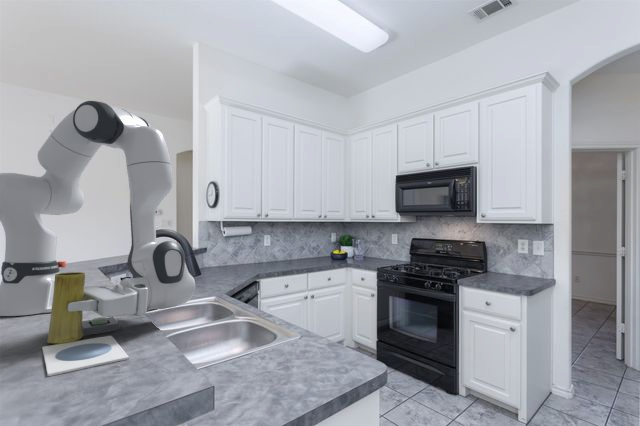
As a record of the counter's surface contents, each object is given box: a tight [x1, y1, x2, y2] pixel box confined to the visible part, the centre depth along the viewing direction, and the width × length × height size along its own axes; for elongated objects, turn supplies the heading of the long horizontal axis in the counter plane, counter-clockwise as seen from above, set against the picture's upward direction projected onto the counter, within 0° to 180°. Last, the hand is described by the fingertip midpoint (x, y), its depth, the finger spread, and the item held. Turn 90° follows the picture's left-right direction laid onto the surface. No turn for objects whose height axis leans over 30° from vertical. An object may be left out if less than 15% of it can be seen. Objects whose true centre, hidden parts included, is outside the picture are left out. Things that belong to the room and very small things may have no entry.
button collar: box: [82, 317, 120, 336], centre depth 79 cm, size 7×7×2 cm
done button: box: [91, 316, 109, 326], centre depth 79 cm, size 3×3×1 cm
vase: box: [46, 271, 86, 345], centre depth 71 cm, size 6×6×14 cm
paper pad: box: [41, 335, 130, 377], centre depth 64 cm, size 16×12×1 cm
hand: (62, 304), depth 70 cm, fingers closed on vase, 5 cm apart
